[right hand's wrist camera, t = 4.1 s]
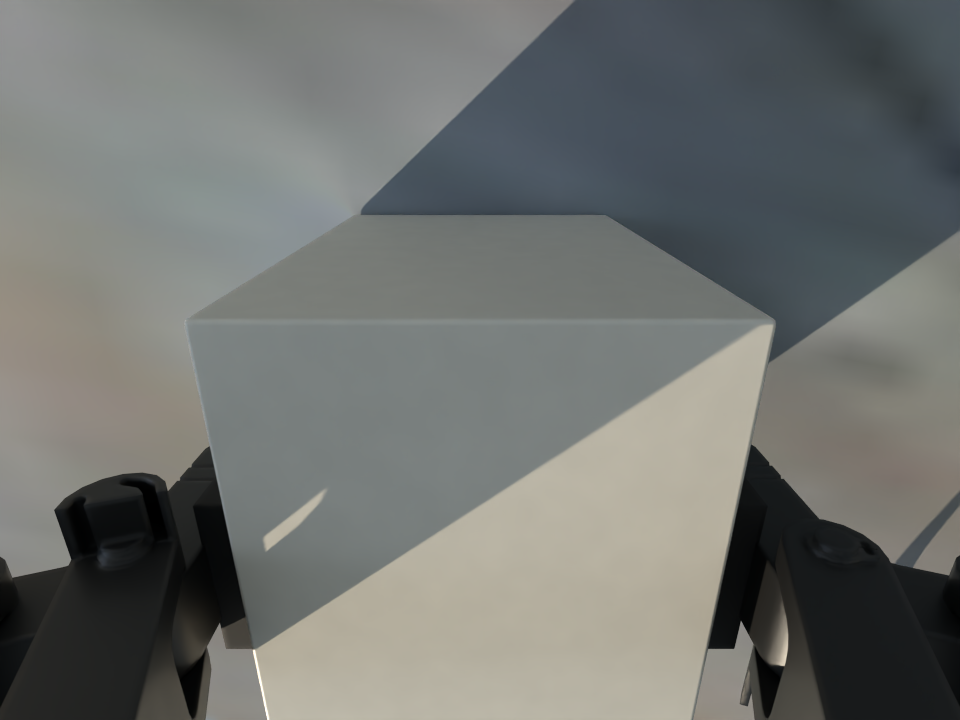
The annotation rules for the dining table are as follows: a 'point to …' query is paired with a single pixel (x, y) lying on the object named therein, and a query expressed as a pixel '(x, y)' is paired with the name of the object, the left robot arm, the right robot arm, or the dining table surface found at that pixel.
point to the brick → (480, 467)
